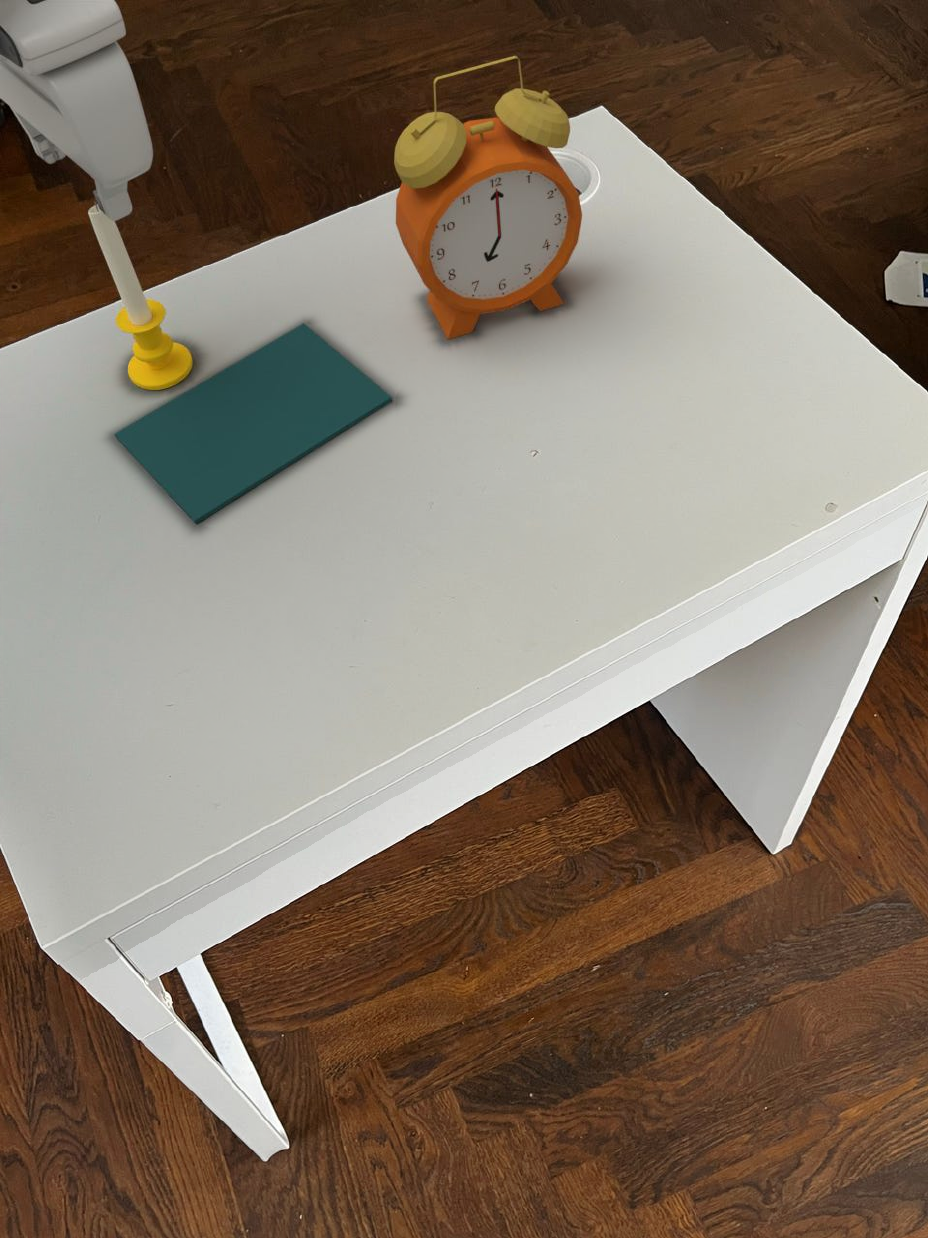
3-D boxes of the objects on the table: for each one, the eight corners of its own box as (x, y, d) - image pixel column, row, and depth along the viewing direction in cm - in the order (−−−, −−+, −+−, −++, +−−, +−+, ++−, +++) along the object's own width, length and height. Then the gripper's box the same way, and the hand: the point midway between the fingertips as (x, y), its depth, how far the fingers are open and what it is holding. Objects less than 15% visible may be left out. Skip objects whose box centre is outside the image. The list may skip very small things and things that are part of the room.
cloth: (195, 524, 83) (194, 520, 83) (115, 437, 89) (113, 433, 89) (392, 400, 89) (391, 396, 88) (304, 326, 95) (303, 322, 94)
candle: (116, 374, 93) (42, 208, 80) (163, 337, 95) (98, 170, 83) (159, 399, 91) (90, 232, 78) (206, 361, 93) (146, 193, 80)
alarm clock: (431, 349, 92) (398, 117, 75) (407, 303, 95) (371, 71, 79) (585, 302, 93) (585, 65, 77) (556, 258, 97) (551, 22, 80)
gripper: (-111, -57, 73) (-21, 143, 84) (35, 60, 63) (115, 269, 74) (-21, -91, 75) (55, 108, 86) (135, 17, 65) (198, 226, 76)
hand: (84, 184), depth 80 cm, fingers open, 8 cm apart
